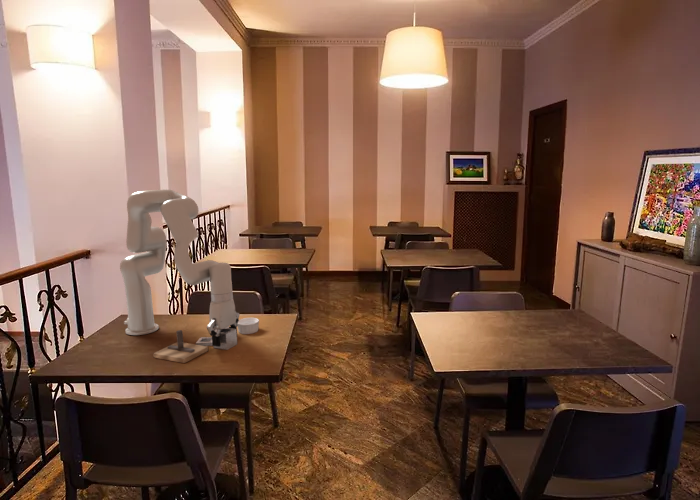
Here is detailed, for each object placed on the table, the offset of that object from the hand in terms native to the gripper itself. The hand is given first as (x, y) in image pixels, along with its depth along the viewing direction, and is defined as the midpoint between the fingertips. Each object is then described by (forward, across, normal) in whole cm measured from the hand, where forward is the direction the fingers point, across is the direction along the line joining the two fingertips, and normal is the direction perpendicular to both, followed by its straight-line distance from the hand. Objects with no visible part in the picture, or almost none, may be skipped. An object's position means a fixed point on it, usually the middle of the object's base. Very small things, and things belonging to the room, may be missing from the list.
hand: (225, 341), depth 176 cm
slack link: (+2, 0, -9) cm, 9 cm away
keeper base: (+2, +12, -10) cm, 16 cm away
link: (+2, 0, 0) cm, 2 cm away
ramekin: (+2, -17, -2) cm, 17 cm away
